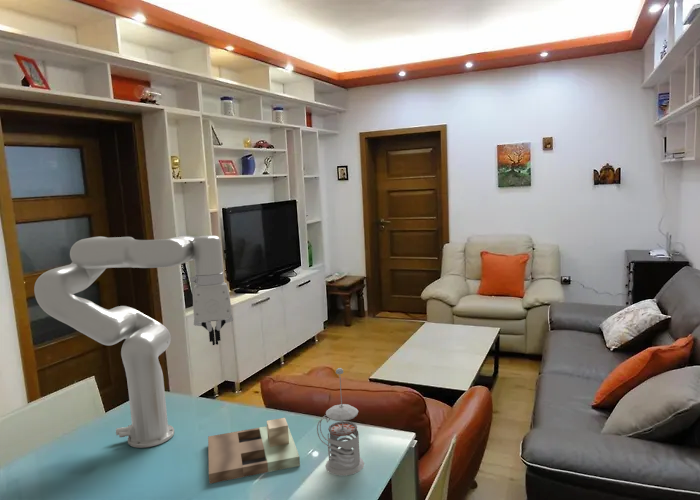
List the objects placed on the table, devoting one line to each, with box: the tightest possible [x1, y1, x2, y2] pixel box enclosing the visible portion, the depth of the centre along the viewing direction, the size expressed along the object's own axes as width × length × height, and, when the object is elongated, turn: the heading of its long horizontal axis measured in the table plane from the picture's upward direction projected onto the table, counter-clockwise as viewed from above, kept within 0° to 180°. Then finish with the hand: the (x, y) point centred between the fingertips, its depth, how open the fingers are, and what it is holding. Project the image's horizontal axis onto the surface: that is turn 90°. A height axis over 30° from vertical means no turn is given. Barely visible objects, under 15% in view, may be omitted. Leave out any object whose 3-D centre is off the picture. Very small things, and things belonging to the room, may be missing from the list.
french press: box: [316, 367, 365, 477], centre depth 125 cm, size 10×12×25 cm
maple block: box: [266, 417, 289, 447], centre depth 135 cm, size 5×5×5 cm
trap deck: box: [207, 425, 301, 485], centre depth 133 cm, size 22×20×2 cm
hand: (215, 343), depth 143 cm, fingers closed
